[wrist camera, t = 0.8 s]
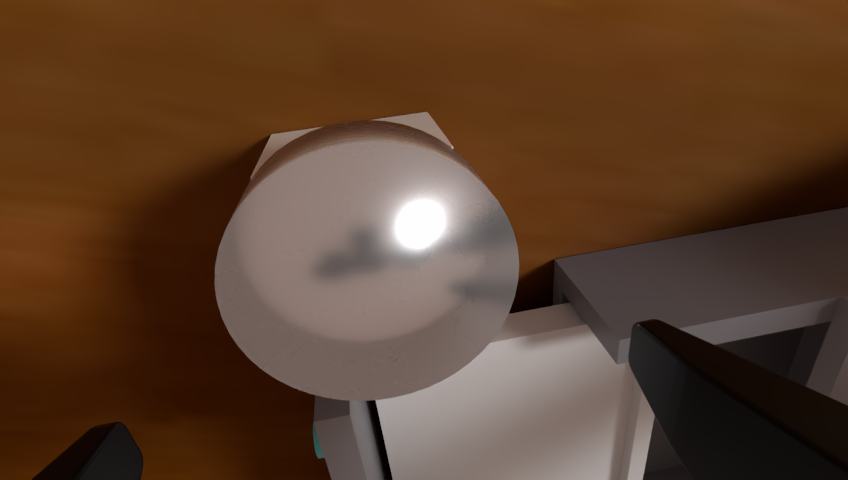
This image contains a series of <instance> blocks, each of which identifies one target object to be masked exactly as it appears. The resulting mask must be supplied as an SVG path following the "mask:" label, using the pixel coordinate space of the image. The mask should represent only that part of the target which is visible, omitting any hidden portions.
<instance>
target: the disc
mask: <svg viewBox="0 0 848 480" xmlns="http://www.w3.org/2000/svg"><path fill="white" fill-rule="evenodd" d="M518 276H519V257H518V248H517V243H516V239H515V235H514V232H513V229H512V227H511V224H510V222H509V220H508V217H507V215H506V214H505V212H504V210H503V209H502V207H501V206H500V204H499V202H498V201H497V200H496V198H495V197H494V196H493V194H492V193H491V192H490V190H489V189H488V188H487V186H486V185H485V184H484V182H483V181H482V180H481V178H480V177H479V176H478V175H477V173H476V172H475V171H474V170H473V168H472V167H471V166H470V165H469V164H468V162H467V161H466V160H465V159H464V158H463V157H462V156H461V155H460V154H459V153H457V152H456V151H455V150H454V149H453V148H452V147H450V146H449V145H447V144H446V143H444V142H443V141H441V140H440V139H438V138H436V137H434V136H432V135H430V134H428V133H426V132H424V131H422V130H419V129H416V128H413V127H410V126H407V125H404V124H399V123H394V122H388V121H378V120H357V121H346V122H341V123H336V124H331V125H327V126H324V127H321V128H318V129H316V130H313V131H310V132H308V133H306V134H304V135H302V136H300V137H298V138H296V139H294V140H292V141H291V142H289V143H288V144H286V145H285V146H283V147H282V148H281V149H279V150H278V151H276V152H275V153H274V154H273V155H272V156H271V157H270V158H269V159H268V160H267V161H266V162H265V163H264V164H263V165H262V166H261V167H260V168H259V170H258V171H257V172H256V173H255V175H254V176H253V177H252V179H251V180H250V182H249V184H248V186H247V187H246V189H245V191H244V193H243V194H242V197H241V199H240V201H239V203H238V205H237V207H236V209H235V211H234V213H233V215H232V217H231V219H230V221H229V223H228V225H227V227H226V230H225V232H224V235H223V237H222V240H221V243H220V245H219V248H218V253H217V258H216V263H215V282H214V284H215V292H216V299H217V304H218V307H219V310H220V314H221V317H222V319H223V321H224V323H225V326H226V328H227V330H228V332H229V334H230V335H231V337H232V338H233V340H234V341H235V342H236V344H237V345H238V347H239V348H240V349H241V350H242V351H243V352H244V354H245V355H246V356H247V357H248V358H249V359H250V360H251V361H252V362H253V363H255V364H256V365H257V366H258V367H259V368H261V369H262V370H263V371H264V372H266V373H267V374H269V375H270V376H272V377H274V378H275V379H277V380H278V381H280V382H282V383H284V384H286V385H288V386H291V387H293V388H295V389H298V390H301V391H303V392H306V393H309V394H313V395H317V396H321V397H325V398H331V399H338V400H350V401H369V400H381V399H388V398H395V397H399V396H403V395H407V394H411V393H414V392H417V391H419V390H422V389H425V388H428V387H430V386H432V385H434V384H437V383H439V382H441V381H443V380H445V379H446V378H448V377H450V376H451V375H453V374H455V373H456V372H458V371H459V370H461V369H462V368H463V367H465V366H466V365H467V364H469V363H470V362H471V361H472V360H473V359H475V358H476V357H477V356H478V355H479V354H480V353H481V352H482V351H483V350H484V349H485V348H486V347H487V345H488V344H489V343H490V342H491V341H492V340H493V338H494V337H495V336H496V334H497V333H498V331H499V330H500V328H501V327H502V325H503V323H504V321H505V319H506V317H507V315H508V313H509V312H510V309H511V306H512V303H513V300H514V298H515V294H516V289H517V284H518Z"/></svg>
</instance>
